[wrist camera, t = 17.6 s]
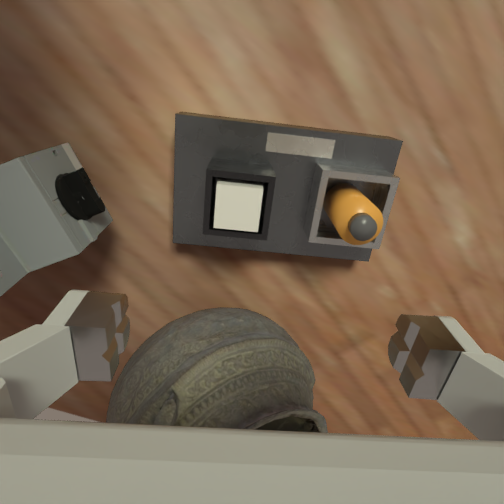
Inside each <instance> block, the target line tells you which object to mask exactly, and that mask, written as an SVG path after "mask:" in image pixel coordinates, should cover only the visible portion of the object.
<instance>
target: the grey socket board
mask: <svg viewBox="0 0 504 504" xmlns="http://www.w3.org/2000/svg"><path fill="white" fill-rule="evenodd" d="M402 142H403V141H401V140H398V139H395V138H392V137H388V136H379V135H371V134H363V133H354V132H346V131H338V130H329V129H321V128H313V127H304V126H296V125H288V124H279V123H271V122H263V121H254V120H246V119H238V118H229V117H221V116H213V115H204V114H196V113H188V112H179V113H176V114H175V163H174V212H173V243H181V244H192V245H202V246H212V247H223V248H233V249H244V250H254V251H265V252H275V253H286V254H296V255H306V256H317V257H327V258H338V259H348V260H359V261H369V258H370V255H371V251H372V249H379V248H380V244H381V241H382V238H383V234H384V231H385V227H386V224H387V221H388V217H389V214H390V210H391V207H392V203H393V200H394V197H395V193H396V190H397V186H398V183H399V180H400V178H399V177H397V176H395V175H394V170H395V167H396V163H397V160H398V156H399V153H400V149H401V146H402ZM219 177H222V178H231V179H240V180H250V181H259V182H262V184H263V196H262V204H261V211H260V219H259V227H258V232H250V231H240V230H230V229H220V228H213V227H214V213H215V200H216V186H217V181H218V178H219ZM342 183H347V184H351V185H353V186H355V187H356V188H357V189H358V190H359V191H360V192H361V193H362V194H363V195H364V196H366V197H367V198H368V199H369V200H370V201H371V202H372V203H373V204H374V205H375V206H376V207H377V208H378V209H379V210H380V211H381V213H382V216H383V227H382V230H381V232H380V233H379V235H378V236H377V237H376V238H375V239H374V240H372V241H371V242H369V243H366V244H363V245H352V244H349V243H347V242H345V241H344V240H343V239H342V238H341V236H340V235H339V233H338V231H337V230H336V228H335V227H334V225H333V223H332V222H331V220H330V218H329V217H328V215H327V213H326V212H325V210H324V205H323V202H324V197H325V195H326V193H327V192H328V191H329V190H330V189H331V188H332V187H334V186H335V185H338V184H342Z"/></svg>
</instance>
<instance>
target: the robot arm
mask: <svg viewBox="0 0 504 504" xmlns="http://www.w3.org/2000/svg"><path fill="white" fill-rule="evenodd" d="M127 308H128V297H127V295H126V294H120V293H109V292H98V291H87V290H70V291H68V293H67V294H66V295H65V296H64V297H63V299H62V300H61V301H60V302H59V304H58V305H57V306H56V307H55V309H54V310H53V311H52V312H51V314H50V315H49V316H48V317H47V319H46V320H45V321H44V322H43V324H42V325H39V324H36V325H33V326H31V327H29V328H27V329H25V330H23V331H21V332H19V333H16V334H14V335H12V336H10V337H8V338H6V339H4V340H1V341H0V504H504V361H502V360H500V359H498V358H497V357H495V356H493V355H491V354H487V353H484V352H483V351H482V350H481V348H480V347H479V346H478V345H477V344H476V343H475V341H474V340H473V339H472V338H471V337H470V336H469V335H468V333H467V332H466V331H465V330H464V329H463V328H462V326H461V325H460V324H459V323H458V322H457V321H456V320H455V319H454V318H452V317H450V316H422V315H406V314H401V315H400V316H399V318H398V319H397V322H396V327H397V329H398V331H397V332H396V333H395V334H394V335H392V336H391V338H390V342H389V345H388V355H389V359H390V362H391V364H392V366H393V368H395V369H396V370H397V371H398V372H400V373H401V375H400V378H399V380H400V382H401V384H402V386H403V388H404V390H405V392H406V393H407V395H408V397H409V398H419V399H431V400H438V401H437V402H439V403H440V404H441V405H442V406H443V407H444V408H445V409H446V410H447V411H448V412H450V413H451V414H452V415H453V416H454V417H455V418H456V419H457V420H458V421H459V422H461V423H462V424H463V425H464V426H465V427H466V428H467V429H468V430H469V431H470V432H472V433H473V434H474V435H475V436H476V437H477V438H478V439H479V440H465V439H442V438H422V437H401V436H381V435H360V434H340V433H318V432H296V431H274V430H252V429H231V428H209V427H187V426H166V425H144V424H123V423H101V422H79V421H58V420H57V421H56V420H37V419H34V418H35V417H36V416H37V415H39V414H40V413H41V412H42V411H43V410H45V409H46V408H47V407H48V406H50V405H51V404H52V403H53V402H55V401H56V400H57V399H58V398H60V397H61V396H62V395H63V394H64V393H66V392H67V391H68V390H69V389H71V388H72V387H73V386H74V385H76V384H77V383H78V380H82V381H111V380H112V378H113V376H114V374H115V371H116V369H117V367H118V364H119V354H121V353H122V352H123V351H124V350H125V348H126V345H127V342H128V337H129V330H130V322H129V318H128V317H127V316H126V315H125V313H126V311H127Z"/></svg>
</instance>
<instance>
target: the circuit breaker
mask: <svg viewBox="0 0 504 504" xmlns="http://www.w3.org/2000/svg"><path fill="white" fill-rule="evenodd" d="M90 181H91V180H90V179H89V177H88V175H87V173H86V172H85V170H84V168H83V167H82V165H81V163H80V161H79V160H78V158H77V156H76V154H75V153H74V151H73V149H72V147H71V146H70V144H69V142H68V143H64V144H61V145H58V146H54V147H51V148H48V149H45V150H41V151H38V152H35V153H31V154H28V155H25V156H22V157H18V158H16V159H13V160H11V161H8V162H6V163H4V164H1V165H0V296H1V295H3V294H4V293H5V292H6V291H7V290H9V289H10V288H11V287H12V286H13V285H14V284H16V283H17V282H18V281H19V280H20V279H21V278H23V277H24V276H25V275H26V274H27V273H29V272H31V271H34V270H37V269H40V268H42V267H45V266H48V265H50V264H53V263H56V262H59V261H61V260H64V259H67V258H69V257H72V256H75V255H78V254H80V253H81V252H82V251H83V250H84V249H85V248H86V247H87V246H88V245H89V244H90V243H91V242H93V241H95V240H96V239H97V238H98V237H97V236H98V235H99V234H100V233H101V232H102V231H103V230H104V229H105V228H106V227H107V226H108V225H109V224H110V223H111V222H112V221H113V219H112V218H111V216H110V214H109V212H108V211H107V209H106V207H105V205H104V203H103V202H102V200H101V198H100V196H99V195H98V193H97V191H96V189H95V188H94V187H93V186H92V184H91V182H90Z"/></svg>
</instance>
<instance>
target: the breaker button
mask: <svg viewBox="0 0 504 504" xmlns="http://www.w3.org/2000/svg"><path fill="white" fill-rule="evenodd" d="M262 196H263V184H262V182H259V181H250V180H240V179H231V178H222V177H219V178H218V181H217V186H216V200H215V213H214V227H213V228H220V229H230V230H240V231H250V232H258V227H259V219H260V211H261V204H262Z"/></svg>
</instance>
